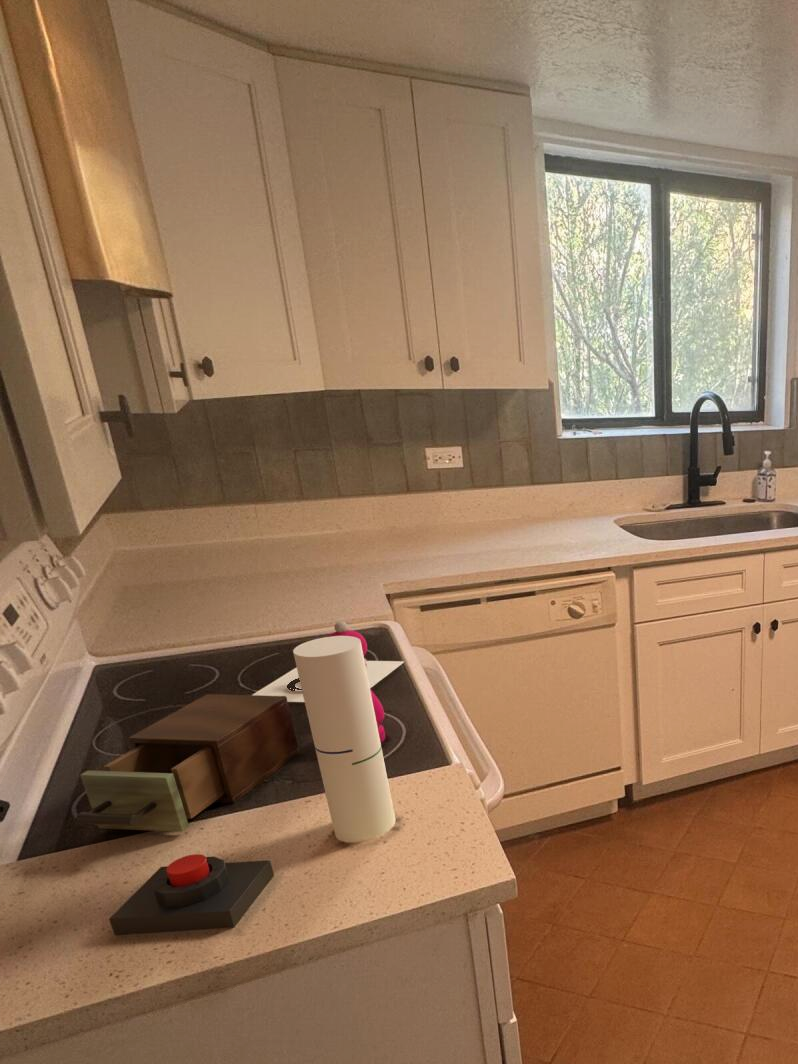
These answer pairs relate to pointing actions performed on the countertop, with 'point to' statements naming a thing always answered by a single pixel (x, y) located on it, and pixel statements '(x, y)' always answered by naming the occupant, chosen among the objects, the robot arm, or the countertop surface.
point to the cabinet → (232, 736)
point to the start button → (188, 870)
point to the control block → (193, 899)
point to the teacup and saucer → (279, 688)
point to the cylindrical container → (345, 736)
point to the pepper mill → (378, 708)
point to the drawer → (153, 788)
